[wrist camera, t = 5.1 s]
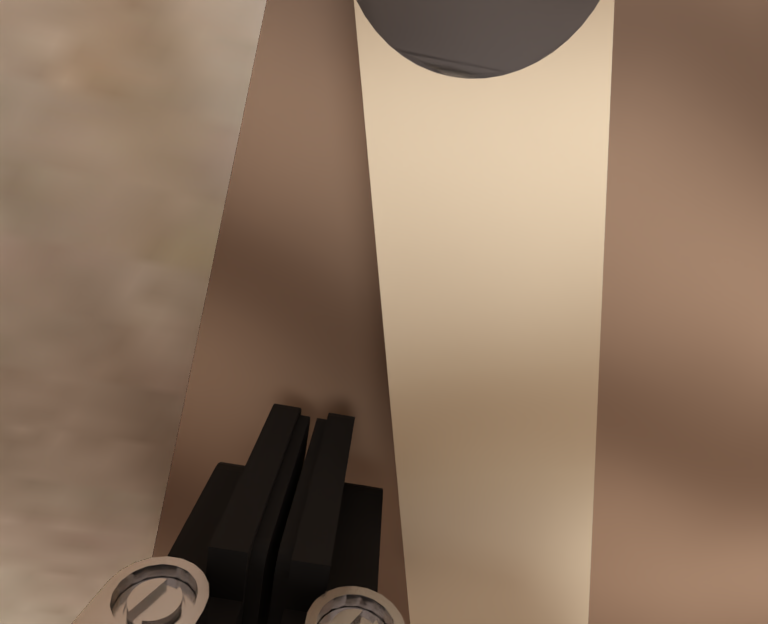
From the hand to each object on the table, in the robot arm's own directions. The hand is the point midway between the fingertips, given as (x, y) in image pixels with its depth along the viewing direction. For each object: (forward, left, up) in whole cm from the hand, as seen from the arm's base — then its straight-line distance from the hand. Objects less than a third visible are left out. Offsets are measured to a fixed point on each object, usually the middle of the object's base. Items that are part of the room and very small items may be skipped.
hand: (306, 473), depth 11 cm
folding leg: (-4, +2, -1) cm, 5 cm away
